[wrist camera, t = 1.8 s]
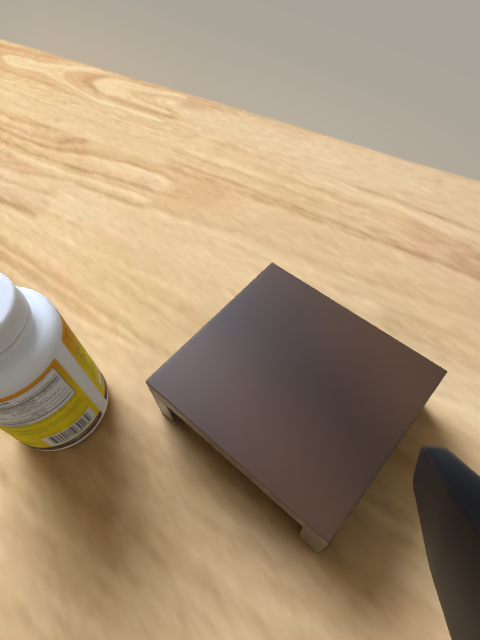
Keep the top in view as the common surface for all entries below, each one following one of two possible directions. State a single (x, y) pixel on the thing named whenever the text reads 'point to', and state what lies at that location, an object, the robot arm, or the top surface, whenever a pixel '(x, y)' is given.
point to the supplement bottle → (45, 374)
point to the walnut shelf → (297, 397)
